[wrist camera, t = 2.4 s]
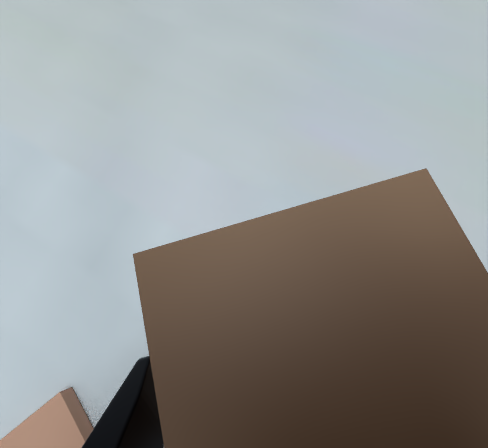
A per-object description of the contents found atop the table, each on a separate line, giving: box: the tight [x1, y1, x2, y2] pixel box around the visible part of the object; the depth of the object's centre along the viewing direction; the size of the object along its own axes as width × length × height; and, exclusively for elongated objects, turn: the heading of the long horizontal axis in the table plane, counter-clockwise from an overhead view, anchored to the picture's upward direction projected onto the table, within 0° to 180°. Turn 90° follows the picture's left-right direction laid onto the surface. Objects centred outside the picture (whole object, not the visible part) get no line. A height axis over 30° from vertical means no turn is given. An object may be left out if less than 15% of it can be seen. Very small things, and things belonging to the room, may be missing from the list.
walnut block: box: [133, 169, 488, 448], centre depth 10 cm, size 5×5×13 cm
